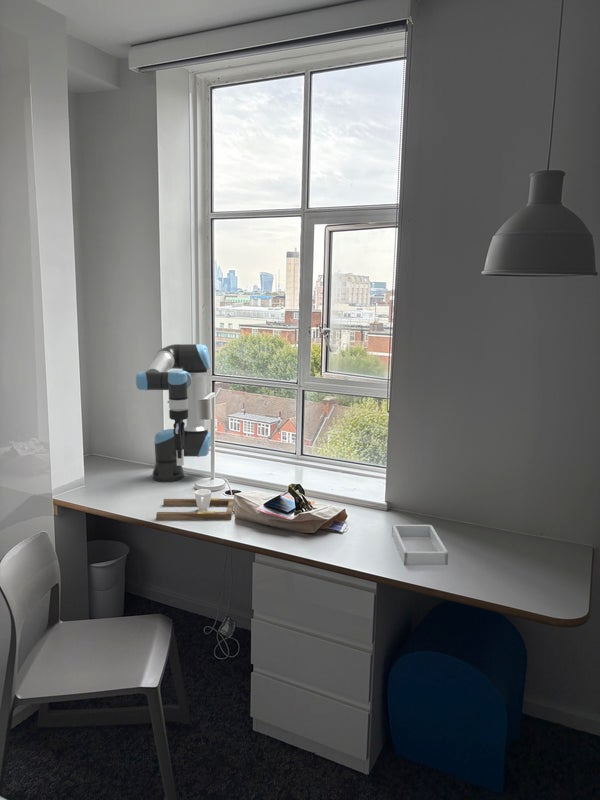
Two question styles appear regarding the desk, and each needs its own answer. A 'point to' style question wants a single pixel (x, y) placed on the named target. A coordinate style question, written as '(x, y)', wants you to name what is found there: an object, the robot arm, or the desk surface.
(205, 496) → the cup
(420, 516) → the desk surface
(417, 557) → the tray
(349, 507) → the desk surface
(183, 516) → the channel
